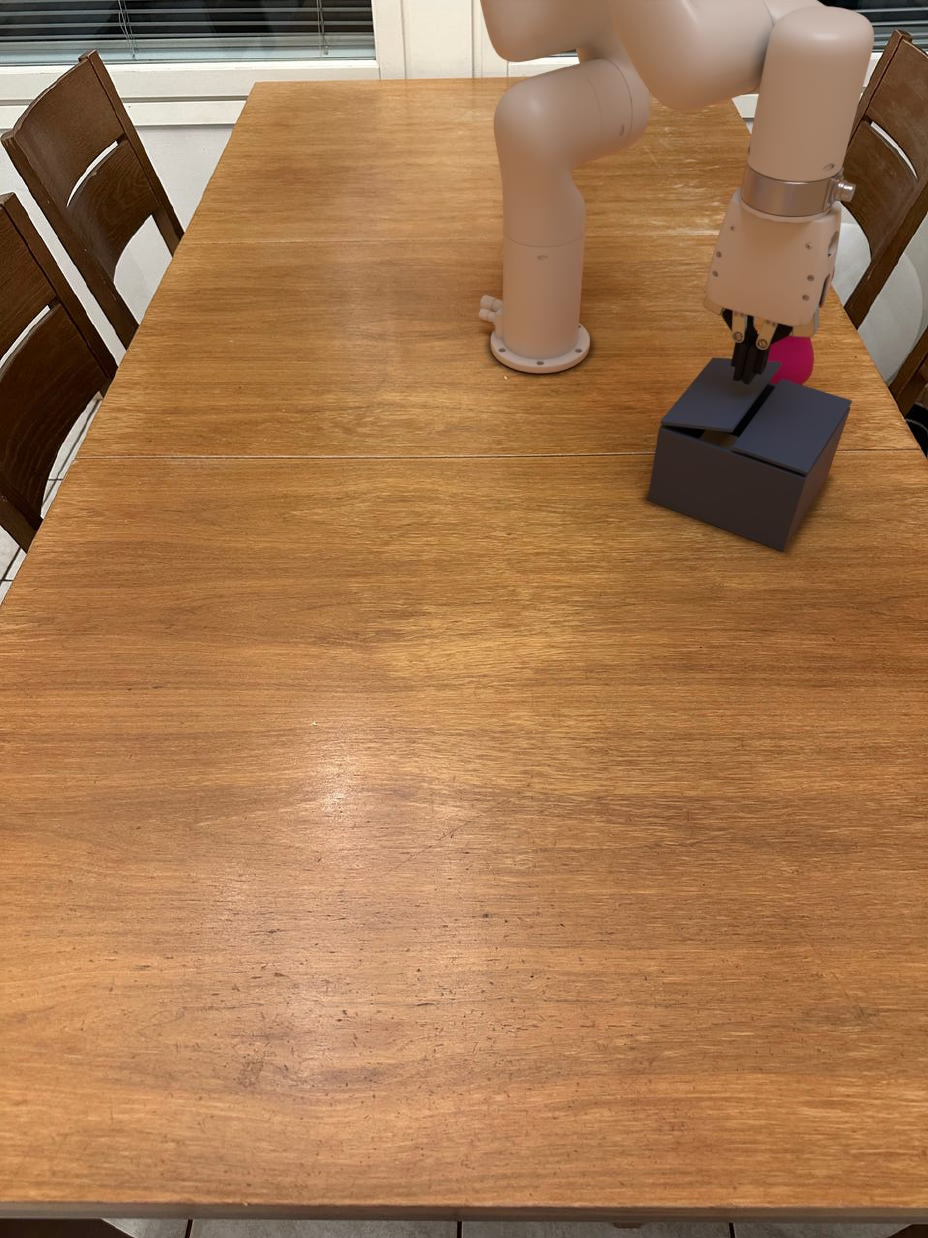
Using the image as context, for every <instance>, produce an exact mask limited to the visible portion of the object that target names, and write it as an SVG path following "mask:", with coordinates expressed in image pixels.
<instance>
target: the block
mask: <svg viewBox="0 0 928 1238" xmlns="http://www.w3.org/2000/svg"><path fill="white" fill-rule="evenodd" d="M738 438H739V437H737V436H734V435H731V434H728V433H725V432H722V431H714V430H706V431H705V432H704V433H703V435H702V436H701V437H700V438H699V439H701V440H704V441H707V442H710V443H712V444H715V445H718V446H721V447H724V448H727V449H730V450H732V447H733V445H734V444H735V442H736V441H737V439H738ZM733 451H735V450H733ZM736 452H738V451H736ZM738 453H741V452H738ZM741 454H744V453H741Z"/></svg>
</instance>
